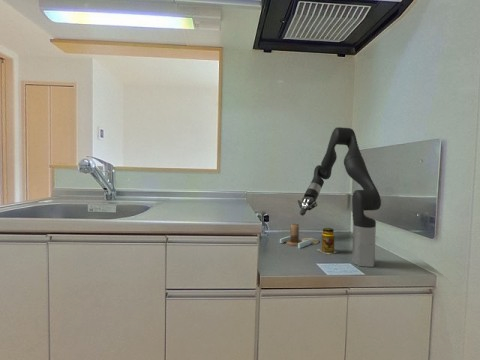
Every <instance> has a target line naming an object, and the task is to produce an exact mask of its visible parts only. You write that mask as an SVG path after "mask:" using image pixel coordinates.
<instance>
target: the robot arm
mask: <svg viewBox="0 0 480 360" xmlns="http://www.w3.org/2000/svg"><path fill="white" fill-rule="evenodd" d="M337 145H339V146H340V145H341V146H347V149H348V150H347V153H346V154H345V156H344V157H343V166H344V169H345V171H346V173H347V175H348V176H349V177H350V178H351V179H352V180H354V182H355V183H357V184H358V185H360V188H362V189H356V190H354V191H353V193H352V196H351V197H352V199H351V203H352V204H351V207H352V223H353V224H352V262H353V264H355V265H357V266H358V267H369V268H370V267H371V268H372V267H373V268H374V266H375V265H376V229H377V227H376V226H377V222H376V220H375V219H374V218H371V217H369V216H367V215H365V211H377V210H379V209H380V208H381V206H382V199H381V195H380V192H379V191H378V188H377V187H376V185H375V184H374V181H373V180H372V177H371V176H370V173H369V170H368V168H367V165H366V163H365V159H364V158H363V157H364V156H362V153H361V151H360V148H359V144H358V140H357V136H356V133H355V130H353V128H350V127H342V126H341V127H340V126H339V127H335V128H334V129H333V130H332V133H331V135H330V138H329V142H328V144H327V149H326V152H325V154H324V156H323V159H322V161H321V163H320V165H316V166H315V168H314V170H313V177H312V180H311V182H310V184H309V185H308V186H307V189H306V191H305V193H304V194H303V195H304V196H303V197H302V198H301V199H298V200H297V203H298V206H299V208H300V211H299V214H300V216H303V217H304V215H306V213H307V212H308V211H311V210H313V209H315V208H316V207H318V203H317V199H318V197H319V195H320V192H321V190H322V188H323V186H324V185H325V184H324V182H325V181H324V180H329V179H330V178H331V176H332V171H333V167H334V164H335V163H336V161H337V157H338V156H337V152H336V146H337Z"/></svg>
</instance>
